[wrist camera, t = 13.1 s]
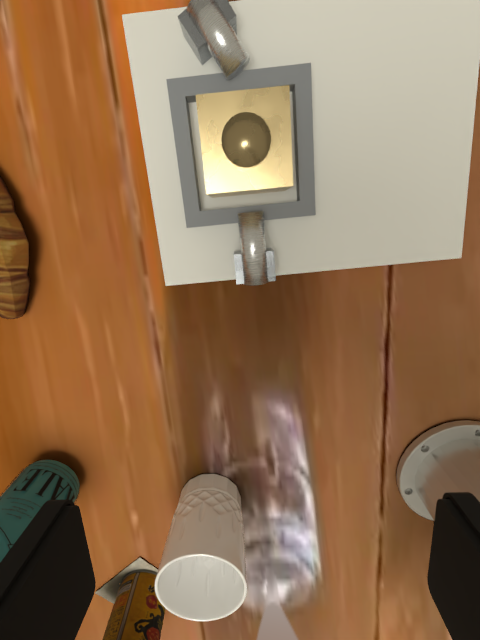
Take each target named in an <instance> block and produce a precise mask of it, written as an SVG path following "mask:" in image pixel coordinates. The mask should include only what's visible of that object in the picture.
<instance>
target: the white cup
mask: <svg viewBox="0 0 480 640" xmlns="http://www.w3.org/2000/svg"><path fill="white" fill-rule="evenodd" d="M155 593H156V596H157V598H158V600H159V602H160V603H161V604H162V605H163V606H164V607H165V608H166V609H167V610H168V611H170V612H171V613H173V614H174V615H176V616H178V617H181V618H184V619H187V620H192V621H213V620H217V619H221V618H224V617H226V616H228V615H230V614H232V613H233V612H235V611H236V610H237V609H238V608H239V607H240V606H241V605H242V603H243V602H244V600H245V597H246V594H247V580H246V562H245V543H244V532H243V519H242V513H241V496H240V494H239V491H238V488H237V486H236V485H235V484H234V483H233V482H231V481H230V480H229V479H228V478H226V477H223V476H220V475H217V474H201V475H199V476H197V477H195V478H193V479H190V480H189V481H188V482H187V484H186V485H185V486H184V488H183V489H182V491H181V495H180V499H179V503H178V506H177V509H176V511H175V513H174V517H173V520H172V524H171V527H170V530H169V533H168V536H167V540H166V544H165V547H164V551H163V554H162V558H161V562H160V565H159V569H158V572H157V576H156V579H155Z"/></svg>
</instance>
